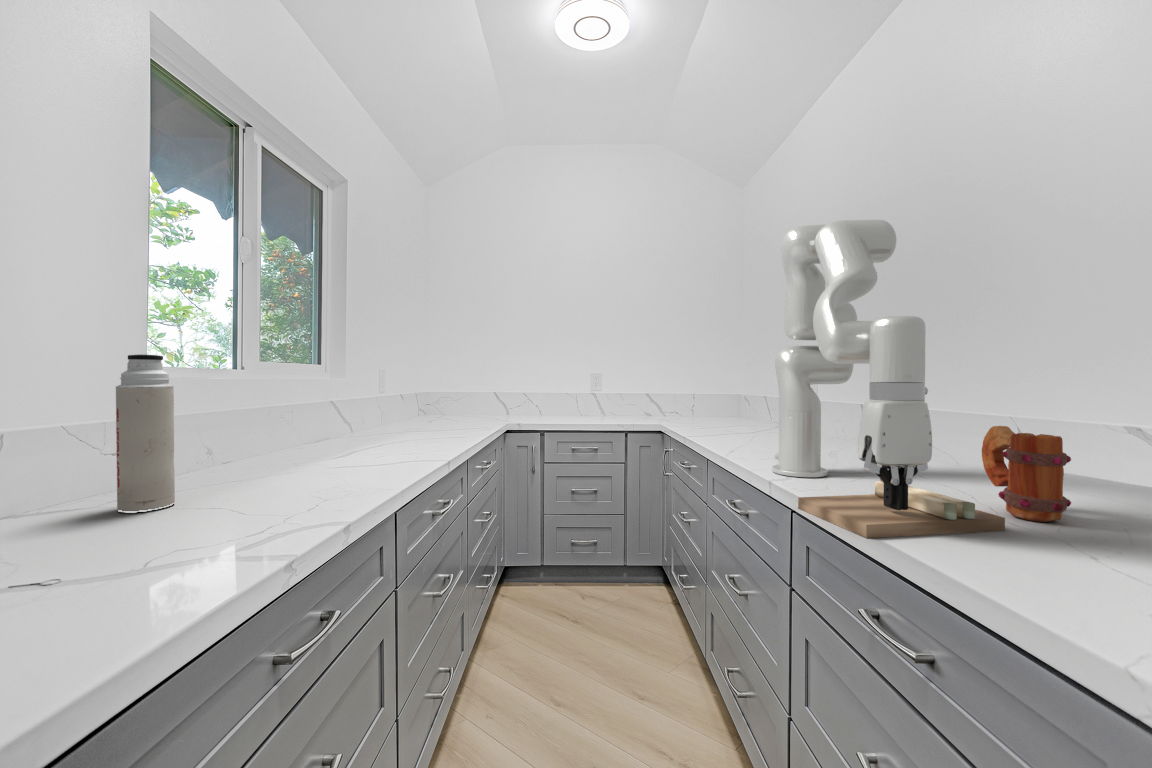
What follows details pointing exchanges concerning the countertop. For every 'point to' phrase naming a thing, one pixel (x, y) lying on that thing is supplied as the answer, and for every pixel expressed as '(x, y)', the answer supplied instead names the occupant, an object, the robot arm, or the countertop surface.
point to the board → (891, 517)
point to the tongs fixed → (963, 507)
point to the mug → (1027, 472)
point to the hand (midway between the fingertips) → (895, 507)
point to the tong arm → (925, 503)
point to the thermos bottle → (145, 435)
